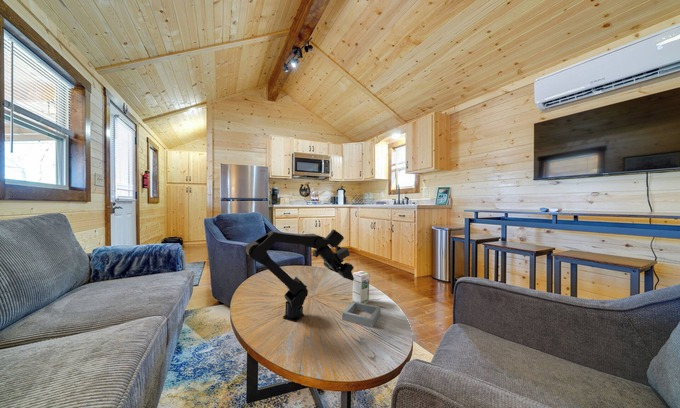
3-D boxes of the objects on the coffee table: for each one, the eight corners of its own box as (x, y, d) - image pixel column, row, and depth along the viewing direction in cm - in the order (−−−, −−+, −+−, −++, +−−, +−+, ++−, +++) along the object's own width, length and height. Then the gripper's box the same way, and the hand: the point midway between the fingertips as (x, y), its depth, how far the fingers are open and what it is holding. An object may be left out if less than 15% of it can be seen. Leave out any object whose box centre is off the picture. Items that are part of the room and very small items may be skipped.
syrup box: (360, 305, 116) (361, 275, 116) (351, 301, 121) (353, 272, 120) (368, 302, 120) (370, 273, 120) (360, 298, 125) (361, 270, 124)
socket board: (342, 319, 102) (342, 312, 102) (353, 307, 114) (353, 301, 114) (372, 327, 97) (372, 320, 97) (380, 313, 109) (380, 307, 109)
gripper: (351, 246, 105) (370, 269, 111) (330, 238, 121) (348, 259, 127) (334, 266, 101) (355, 288, 107) (314, 256, 117) (334, 276, 123)
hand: (347, 276), depth 116 cm, fingers open, 9 cm apart
